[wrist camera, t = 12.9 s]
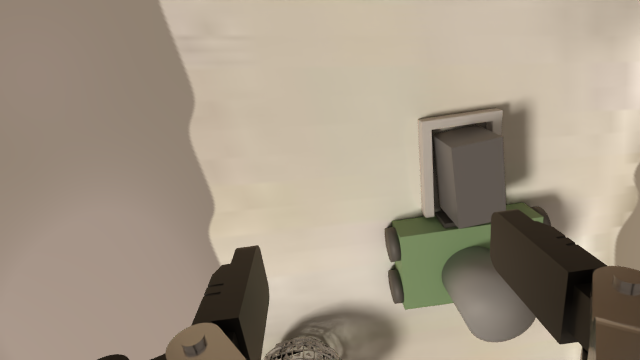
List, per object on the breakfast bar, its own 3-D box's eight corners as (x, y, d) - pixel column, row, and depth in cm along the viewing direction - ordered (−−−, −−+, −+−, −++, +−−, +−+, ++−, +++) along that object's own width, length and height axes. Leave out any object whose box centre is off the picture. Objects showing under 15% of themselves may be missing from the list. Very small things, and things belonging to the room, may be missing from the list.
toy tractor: (375, 125, 39) (400, 152, 29) (538, 101, 39) (621, 120, 29) (389, 289, 47) (413, 357, 37) (526, 270, 47) (588, 333, 36)
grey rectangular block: (430, 134, 40) (451, 147, 34) (475, 124, 40) (502, 136, 34) (439, 205, 43) (459, 228, 38) (480, 196, 43) (506, 218, 37)
